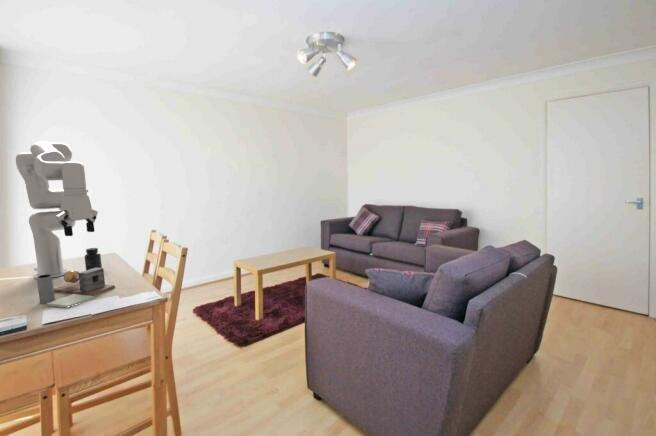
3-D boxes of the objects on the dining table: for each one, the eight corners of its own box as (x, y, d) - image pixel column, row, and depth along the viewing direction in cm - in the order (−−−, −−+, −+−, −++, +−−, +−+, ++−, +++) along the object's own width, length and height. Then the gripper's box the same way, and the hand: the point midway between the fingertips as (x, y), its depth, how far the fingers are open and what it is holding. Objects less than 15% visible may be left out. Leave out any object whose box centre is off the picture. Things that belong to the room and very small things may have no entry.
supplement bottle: (105, 270, 171) (103, 247, 170) (92, 274, 165) (89, 250, 163) (96, 269, 173) (93, 246, 172) (82, 272, 167) (80, 249, 165)
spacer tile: (47, 305, 125) (47, 303, 125) (73, 296, 135) (73, 293, 134) (68, 308, 123) (67, 305, 122) (93, 298, 132) (92, 295, 132)
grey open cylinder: (45, 299, 132) (42, 274, 130) (57, 298, 132) (54, 274, 131) (36, 303, 127) (33, 278, 126) (49, 303, 127) (46, 277, 126)
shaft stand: (52, 291, 140) (49, 271, 139) (75, 284, 149) (73, 265, 148) (93, 296, 135) (91, 274, 133) (114, 287, 144) (112, 268, 143)
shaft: (64, 283, 141) (62, 272, 140) (75, 280, 146) (74, 269, 145) (85, 285, 138) (84, 274, 138) (96, 282, 143) (95, 270, 142)
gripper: (87, 191, 143) (91, 230, 146) (46, 193, 127) (51, 237, 129) (101, 191, 142) (105, 230, 144) (62, 193, 125) (67, 237, 127)
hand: (80, 233), depth 136 cm, fingers open, 9 cm apart
